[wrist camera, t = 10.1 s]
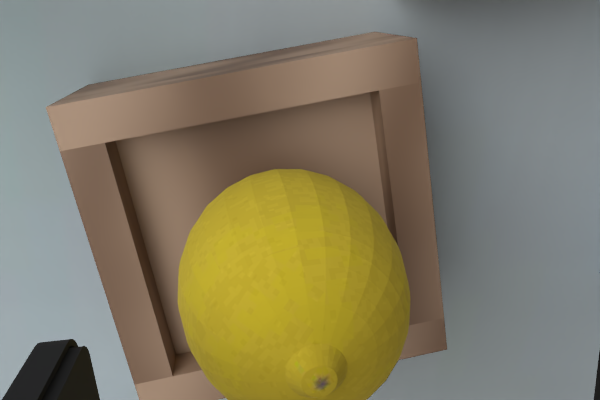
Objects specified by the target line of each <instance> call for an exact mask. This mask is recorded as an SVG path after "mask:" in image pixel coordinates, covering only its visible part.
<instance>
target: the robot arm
mask: <svg viewBox="0 0 600 400" xmlns="http://www.w3.org/2000/svg"><path fill="white" fill-rule="evenodd" d="M2 400H100V398H99V394H98V389H97V385H96V380H95V376H94V372H93V367H92V363H91V358H90V354H89V351H88V349H87V347H85V346H82V347H78V345H77V343H76V342H75V340H73V339H69V340H60V341H51V342H41V343H38V344H37V345H36V346H35V347H34V349H33V350H32V352H31V354H30V355H29V357H28V359H27V360H26V362H25V363H24V365H23V367H22V368H21V370H20V371H19V373H18V375H17V376H16V378H15V380H14V381H13V383H12V384H11V386H10V388H9V389H8V391H7V393H6V394H5V396H4V397H3V399H2ZM594 400H600V352H599V361H598V369H597V378H596V386H595V394H594Z"/></svg>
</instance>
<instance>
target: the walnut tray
mask: <svg viewBox="0 0 600 400" xmlns="http://www.w3.org/2000/svg"><path fill="white" fill-rule="evenodd" d="M46 109H47V112H48V116H49V119H50V122H51V125H52V128H53V131H54V134H55V137H56V141H57V144H58V147H59V150H60V153H61V156H62V159H63V162H64V166H65V169H66V172H67V175H68V178H69V181H70V184H71V187H72V190H73V194H74V197H75V200H76V203H77V206H78V209H79V212H80V215H81V219H82V222H83V225H84V228H85V231H86V234H87V237H88V240H89V244H90V247H91V250H92V253H93V256H94V259H95V262H96V265H97V269H98V272H99V275H100V278H101V281H102V284H103V287H104V290H105V294H106V297H107V300H108V303H109V306H110V309H111V312H112V315H113V319H114V322H115V325H116V328H117V331H118V334H119V337H120V340H121V344H122V347H123V350H124V353H125V356H126V359H127V362H128V365H129V369H130V372H131V375H132V378H133V381H134V384H135V387H136V390H137V394H138V397H139V400H218V399H223V398H226V397H225V396H224V395H223V394H222V393H220V392H219V391H218V390H217V389H216V388H215V387H214V386H213V385H212V384H211V383H210V381H209V380H208V379H207V377H206V376H205V374H204V372H203V371H202V369H201V367H200V366H199V364H198V362H197V361H196V359H195V357H194V356H193V354H192V352H191V350H190V348H189V345H188V343H187V340H186V336H185V332H184V328H183V324H182V320H181V317H180V313H179V308H178V274H179V264H180V260H181V257H182V254H183V251H184V248H185V245H186V242H187V238H188V236H189V233H190V231H191V229H192V228H193V226H194V225H195V223H196V222H197V220H198V219H199V217H200V216H201V214H202V212H203V211H204V209H205V208H206V206H207V205H208V204H209V203H211V202H212V201H213V200H214V199H215V198H216V197H217V196H218V195H219V194H221V193H222V192H223V191H224V190H225V189H226V188H228V187H229V186H231V185H233V184H235V183H237V182H239V181H241V180H242V179H244V178H246V177H248V176H250V175H253V174H257V173H261V172H265V171H269V170H273V169H303V170H307V171H311V172H315V173H319V174H323V175H327V176H329V177H331V178H333V179H335V180H337V181H339V182H340V183H342V184H344V185H346V186H348V187H350V188H351V189H353V190H355V191H356V192H357V193H358V194H359V195H361V196H362V197H363V198H364V199H365V200H366V201H367V202H368V203H369V204H370V205H371V206H372V207H373V208H374V209H375V210H376V211H377V212H378V213H379V215H380V216H381V217H382V219H383V220H384V222H385V224H386V225H387V227H388V229H389V231H390V232H391V234H392V236H393V238H394V240H395V241H396V243H397V245H398V247H399V250H400V252H401V255H402V259H403V263H404V267H405V271H406V275H407V279H408V283H409V289H410V319H409V329H408V334H407V337H406V340H405V343H404V346H403V350H402V353H401V355H400V357H399V360H401V359H405V358H410V357H415V356H419V355H424V354H428V353H433V352H437V351H442V350H447V343H446V333H445V323H444V313H443V302H442V292H441V282H440V271H439V261H438V251H437V241H436V230H435V220H434V210H433V199H432V189H431V179H430V169H429V158H428V148H427V138H426V128H425V117H424V107H423V97H422V86H421V76H420V66H419V56H418V45H417V38H412V37H406V36H399V35H392V34H385V33H379V32H371V33H366V34H361V35H355V36H350V37H344V38H339V39H333V40H328V41H323V42H317V43H312V44H306V45H301V46H296V47H290V48H285V49H279V50H274V51H269V52H263V53H258V54H252V55H247V56H242V57H236V58H231V59H225V60H220V61H215V62H209V63H204V64H198V65H193V66H188V67H182V68H177V69H171V70H166V71H161V72H155V73H150V74H144V75H139V76H133V77H128V78H123V79H117V80H112V81H106V82H101V83H96V84H90V85H87V86H85V87H83V88H81V89H79V90H78V91H76V92H74V93H72V94H70V95H68V96H66V97H64V98H62V99H61V100H59V101H57V102H55V103H53V104H51V105H49V106H47V107H46Z"/></svg>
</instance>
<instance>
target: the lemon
mask: <svg viewBox="0 0 600 400" xmlns="http://www.w3.org/2000/svg"><path fill="white" fill-rule="evenodd" d="M178 308H179V313H180V317H181V320H182V324H183V328H184V332H185V336H186V340H187V343H188V345H189V348H190V350H191V352H192V354H193V356H194V357H195V359H196V361H197V362H198V364H199V366H200V367H201V369H202V371H203V372H204V374H205V376H206V377H207V379H208V380H209V381H210V383H211V384H212V385H213V386H214V387H215V388H216V389H217V390H218V391H219V392H220V393H222V394H223V395H224V396H225V397H226V398H227V399H228V400H366V399H368V398H369V397H370V396H371V395H372V394H373V393H374V392H375V391H376V390H377V389H378V388H379V387H380V386H381V385H382V384H383V383H384V382H385V381H386V379H387V378H388V376H389V375H390V373H391V371H392V370H393V368H394V366H395V365H396V363H397V362H398V360H399V357H400V355H401V353H402V350H403V346H404V343H405V340H406V337H407V334H408V329H409V319H410V289H409V283H408V279H407V275H406V271H405V267H404V263H403V259H402V255H401V252H400V250H399V247H398V245H397V243H396V241H395V240H394V238H393V236H392V234H391V232H390V231H389V229H388V227H387V225H386V224H385V222H384V220H383V219H382V217H381V216H380V215H379V213H378V212H377V211H376V210H375V209H374V208H373V207H372V206H371V205H370V204H369V203H368V202H367V201H366V200H365V199H364V198H363V197H362V196H361V195H359V194H358V193H357V192H356V191H355V190H353V189H351V188H350V187H348V186H346V185H344V184H342V183H340V182H339V181H337V180H335V179H333V178H331V177H329V176H327V175H323V174H319V173H315V172H311V171H307V170H303V169H273V170H269V171H265V172H261V173H257V174H253V175H250V176H248V177H246V178H244V179H242V180H241V181H239V182H237V183H235V184H233V185H231V186H229V187H228V188H226V189H225V190H224V191H223V192H222V193H221V194H219V195H218V196H217V197H216V198H215V199H214V200H213V201H212V202H211V203H209V204H208V205H207V206H206V208H205V209H204V211H203V212H202V214H201V216H200V217H199V219H198V220H197V222H196V223H195V225H194V226H193V228H192V229H191V231H190V233H189V236H188V238H187V242H186V245H185V248H184V251H183V254H182V257H181V260H180V264H179V274H178Z"/></svg>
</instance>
